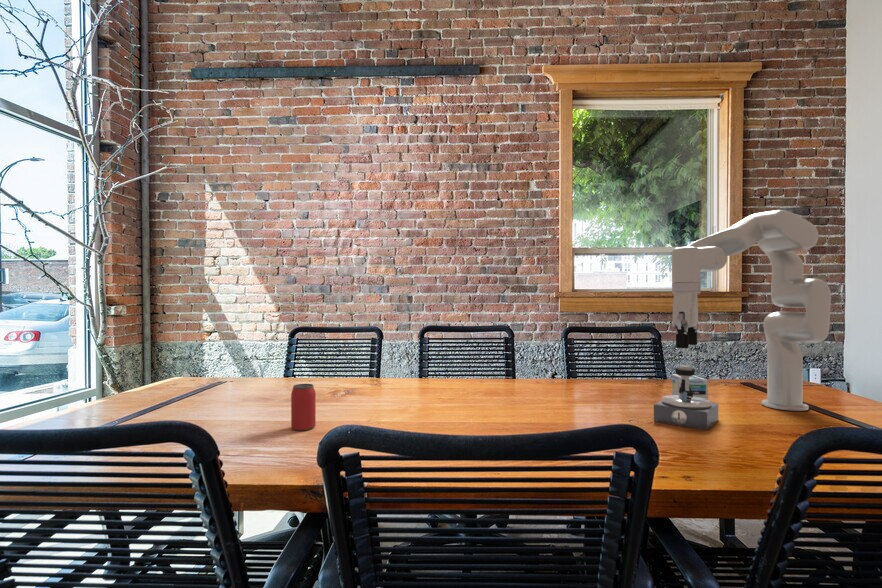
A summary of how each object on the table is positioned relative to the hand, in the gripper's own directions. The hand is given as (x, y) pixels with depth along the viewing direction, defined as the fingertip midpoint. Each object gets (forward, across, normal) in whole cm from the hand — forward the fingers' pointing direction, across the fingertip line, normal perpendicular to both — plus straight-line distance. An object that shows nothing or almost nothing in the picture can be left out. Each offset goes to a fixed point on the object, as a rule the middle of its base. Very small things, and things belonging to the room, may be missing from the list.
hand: (686, 346), depth 139 cm
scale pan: (+17, +1, 0) cm, 17 cm away
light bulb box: (+22, -15, -3) cm, 27 cm away
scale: (+22, +1, 0) cm, 22 cm away
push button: (+16, +1, 0) cm, 16 cm away
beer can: (+21, +80, -79) cm, 114 cm away
